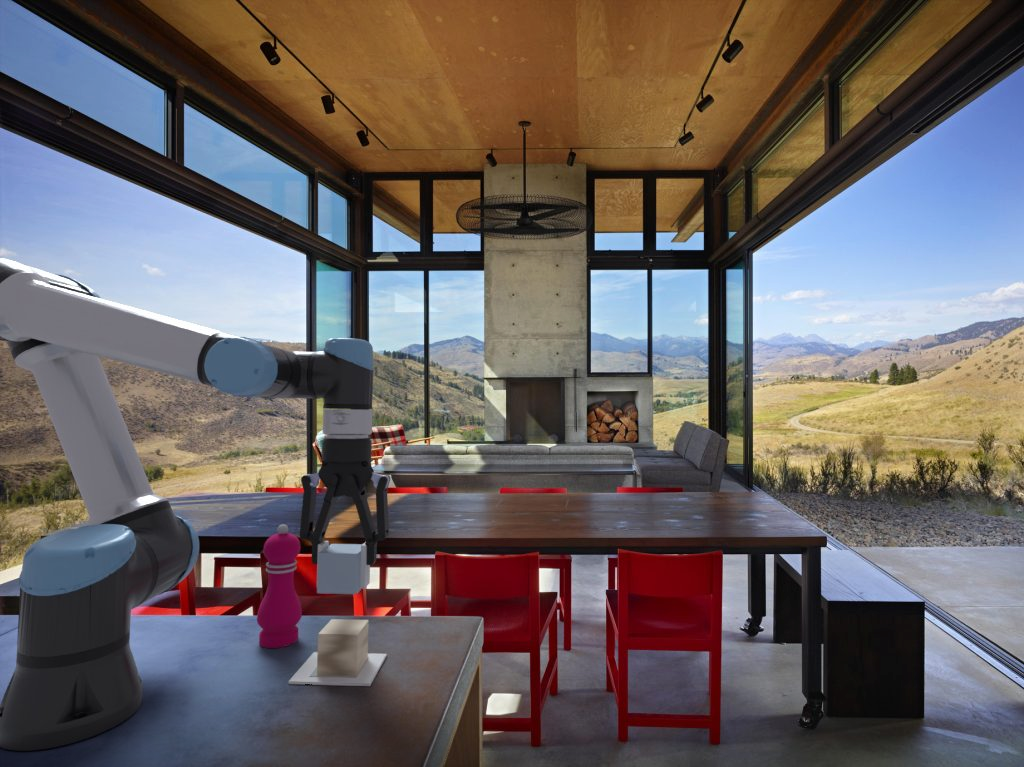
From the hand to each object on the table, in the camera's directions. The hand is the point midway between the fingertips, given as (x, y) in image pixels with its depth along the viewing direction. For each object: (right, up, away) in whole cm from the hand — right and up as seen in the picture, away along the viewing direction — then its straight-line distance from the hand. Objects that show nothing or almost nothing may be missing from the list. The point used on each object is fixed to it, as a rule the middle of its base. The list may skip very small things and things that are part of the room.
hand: (343, 584), depth 87 cm
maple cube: (0, -12, -1) cm, 12 cm away
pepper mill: (-14, -13, +10) cm, 22 cm away
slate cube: (0, 0, 0) cm, 0 cm away
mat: (0, -13, -1) cm, 13 cm away
